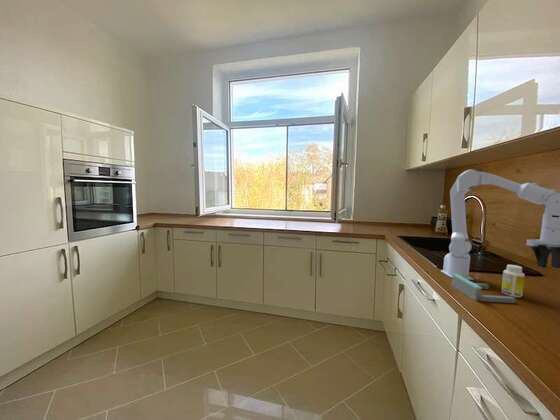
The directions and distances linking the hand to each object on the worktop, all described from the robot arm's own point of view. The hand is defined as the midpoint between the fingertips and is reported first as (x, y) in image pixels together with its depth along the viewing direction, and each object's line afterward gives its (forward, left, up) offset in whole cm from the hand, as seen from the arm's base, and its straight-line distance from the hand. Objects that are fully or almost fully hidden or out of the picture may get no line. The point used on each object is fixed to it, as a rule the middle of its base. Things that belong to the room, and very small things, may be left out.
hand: (548, 267), depth 88 cm
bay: (+1, -22, -10) cm, 24 cm away
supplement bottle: (0, -11, -11) cm, 15 cm away
